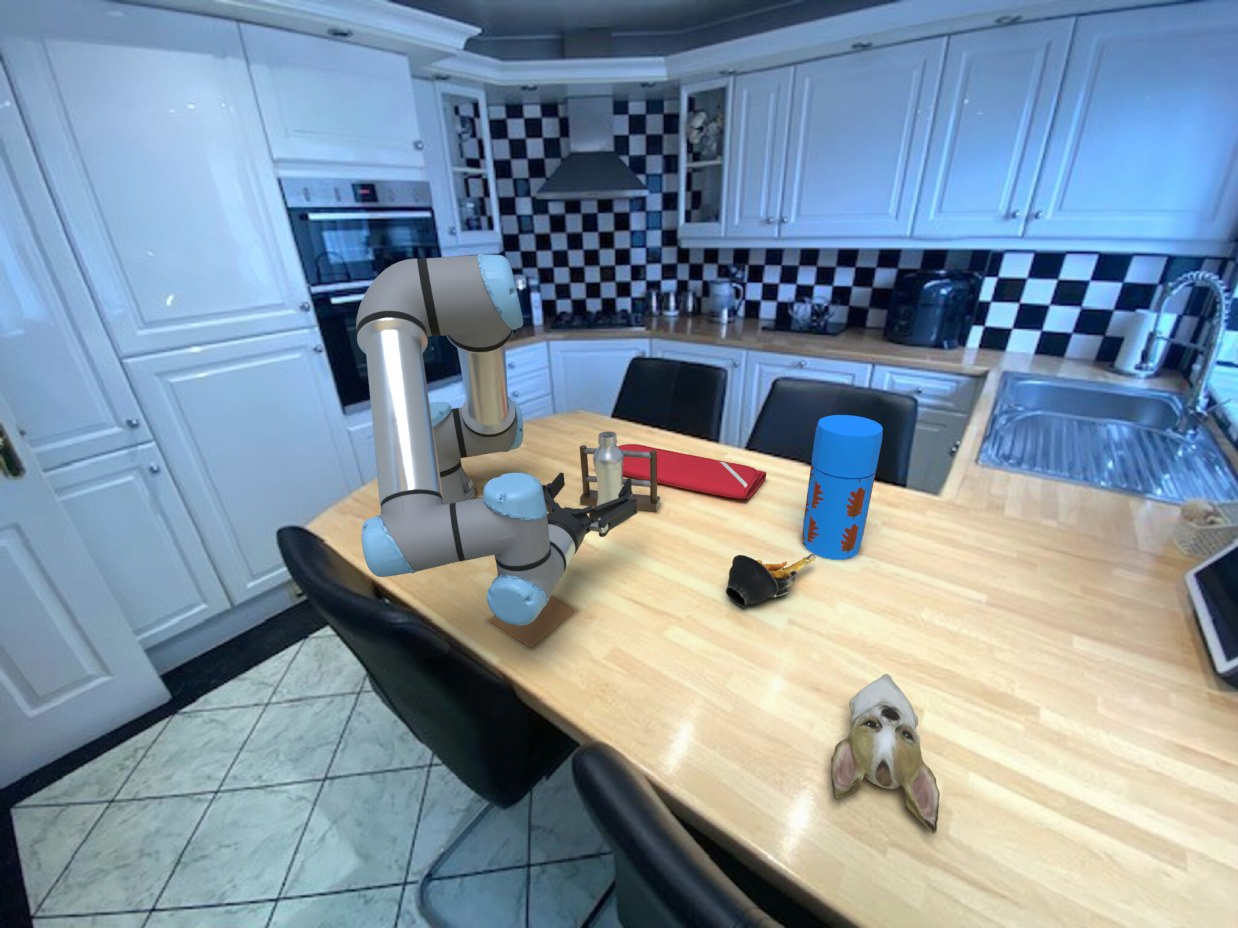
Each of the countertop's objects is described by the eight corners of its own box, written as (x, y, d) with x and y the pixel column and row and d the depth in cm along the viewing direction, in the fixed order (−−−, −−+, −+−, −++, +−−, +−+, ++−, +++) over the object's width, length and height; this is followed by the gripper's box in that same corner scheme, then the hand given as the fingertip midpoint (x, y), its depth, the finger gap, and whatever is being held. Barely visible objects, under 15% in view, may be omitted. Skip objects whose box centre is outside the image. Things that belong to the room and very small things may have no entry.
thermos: (861, 535, 102) (884, 418, 91) (859, 565, 93) (884, 440, 82) (804, 524, 106) (819, 412, 95) (797, 552, 97) (813, 432, 87)
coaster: (489, 621, 84) (489, 619, 84) (533, 589, 91) (533, 587, 91) (531, 647, 78) (530, 645, 78) (574, 611, 85) (574, 609, 85)
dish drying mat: (625, 449, 145) (624, 437, 144) (766, 479, 125) (768, 465, 124) (594, 471, 133) (593, 458, 132) (745, 507, 113) (746, 493, 112)
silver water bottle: (624, 527, 108) (620, 441, 99) (593, 525, 109) (587, 440, 101) (630, 512, 114) (626, 429, 105) (600, 510, 115) (595, 428, 106)
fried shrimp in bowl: (704, 573, 85) (765, 507, 93) (734, 621, 88) (791, 553, 96) (743, 583, 77) (806, 510, 85) (774, 635, 80) (833, 560, 88)
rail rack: (580, 504, 118) (575, 449, 112) (586, 496, 121) (581, 442, 115) (656, 512, 113) (655, 455, 107) (659, 503, 116) (659, 448, 110)
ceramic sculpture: (940, 677, 59) (957, 803, 48) (924, 723, 64) (936, 851, 52) (842, 652, 63) (835, 763, 52) (833, 697, 68) (825, 810, 56)
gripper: (486, 553, 84) (537, 493, 102) (632, 572, 77) (659, 504, 96) (478, 514, 81) (533, 459, 99) (630, 531, 74) (658, 469, 93)
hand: (595, 481), depth 97 cm, fingers open, 13 cm apart
